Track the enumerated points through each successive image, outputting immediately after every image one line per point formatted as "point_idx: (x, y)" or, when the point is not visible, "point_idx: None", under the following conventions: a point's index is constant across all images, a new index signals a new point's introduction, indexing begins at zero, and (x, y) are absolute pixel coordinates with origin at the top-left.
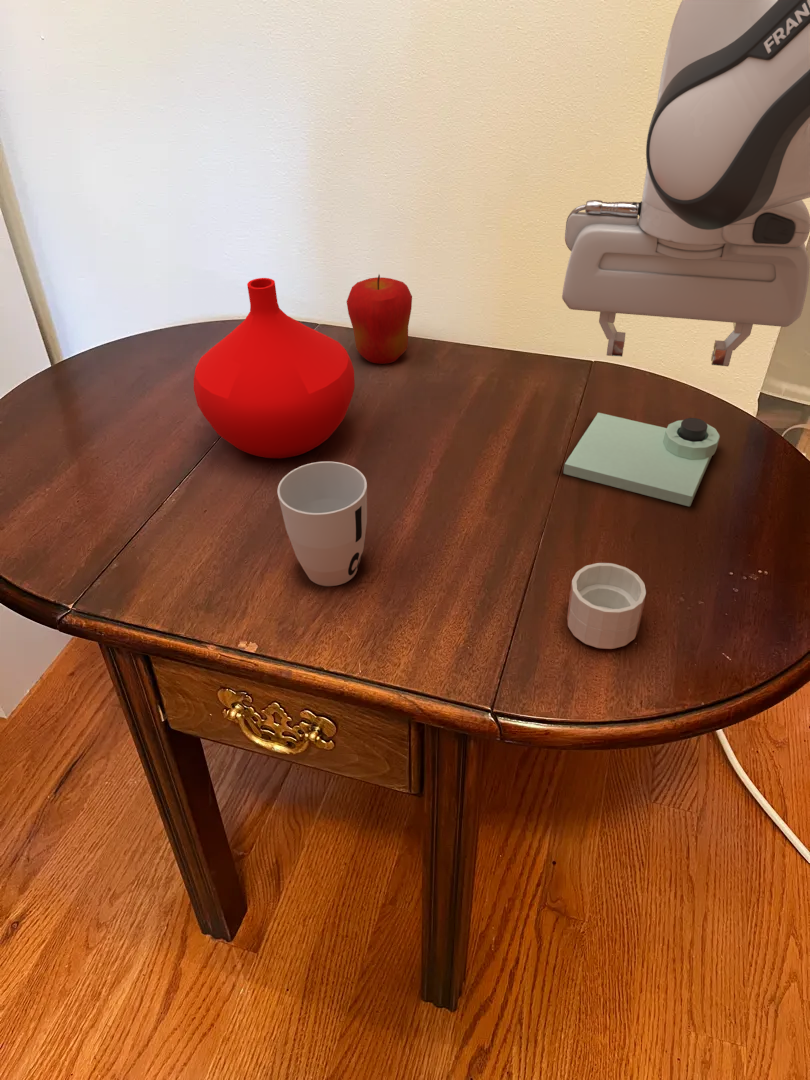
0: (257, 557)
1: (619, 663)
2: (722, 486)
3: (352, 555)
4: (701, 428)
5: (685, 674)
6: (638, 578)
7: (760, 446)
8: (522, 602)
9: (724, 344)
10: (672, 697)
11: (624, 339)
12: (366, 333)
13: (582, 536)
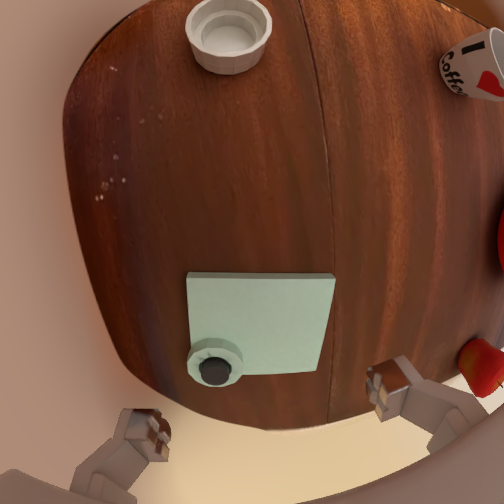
0: None
1: None
2: (169, 317)
3: (454, 50)
4: (205, 372)
5: (144, 33)
6: (198, 45)
7: (160, 380)
8: (311, 54)
9: (141, 453)
10: (152, 9)
11: (387, 400)
12: (491, 348)
13: (286, 171)
